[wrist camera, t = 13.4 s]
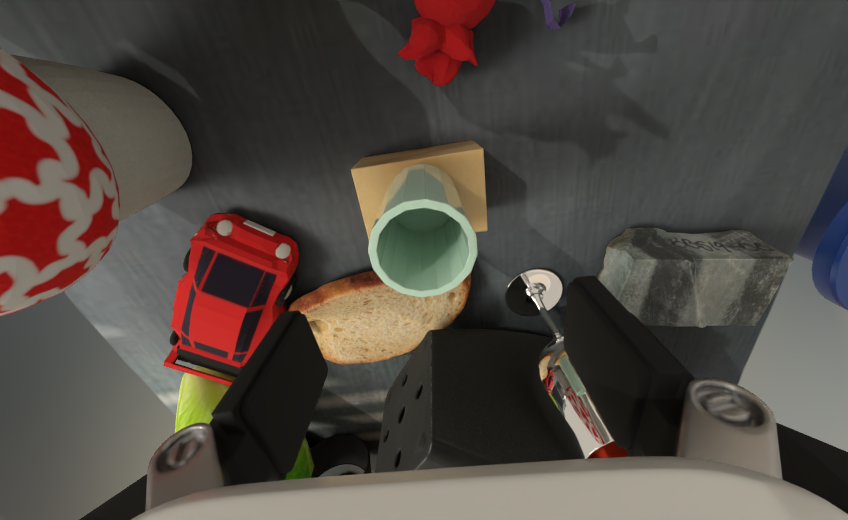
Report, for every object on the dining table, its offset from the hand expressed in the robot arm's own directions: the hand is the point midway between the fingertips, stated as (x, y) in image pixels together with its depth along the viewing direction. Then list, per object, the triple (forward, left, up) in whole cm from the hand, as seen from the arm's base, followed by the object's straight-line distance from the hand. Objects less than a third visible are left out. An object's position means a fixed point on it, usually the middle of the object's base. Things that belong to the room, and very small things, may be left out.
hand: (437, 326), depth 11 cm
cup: (0, 0, -15) cm, 15 cm away
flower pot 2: (+6, +19, -10) cm, 22 cm away
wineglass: (-10, +14, -20) cm, 26 cm away
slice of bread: (+8, +12, -20) cm, 24 cm away
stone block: (-24, +12, -20) cm, 33 cm away
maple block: (0, 0, -20) cm, 20 cm away
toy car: (+22, +9, -20) cm, 31 cm away
